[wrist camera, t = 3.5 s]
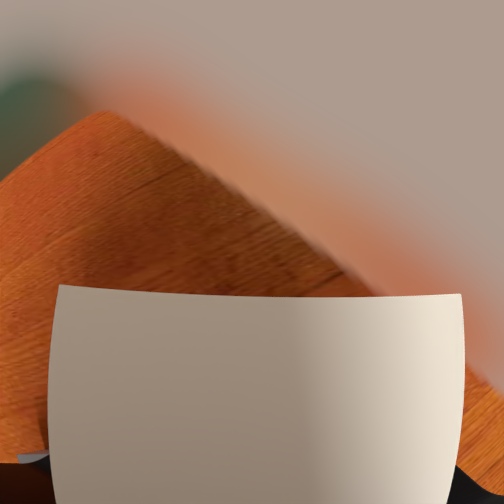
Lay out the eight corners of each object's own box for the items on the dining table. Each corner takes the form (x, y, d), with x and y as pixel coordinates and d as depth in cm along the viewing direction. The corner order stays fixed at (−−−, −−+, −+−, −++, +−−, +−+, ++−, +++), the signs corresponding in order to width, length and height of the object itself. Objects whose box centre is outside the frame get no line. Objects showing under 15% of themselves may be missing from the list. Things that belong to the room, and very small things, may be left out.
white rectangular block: (316, 433, 13) (401, 609, 1) (229, 430, 14) (75, 573, 1) (320, 350, 15) (460, 294, 3) (233, 348, 15) (59, 284, 3)
